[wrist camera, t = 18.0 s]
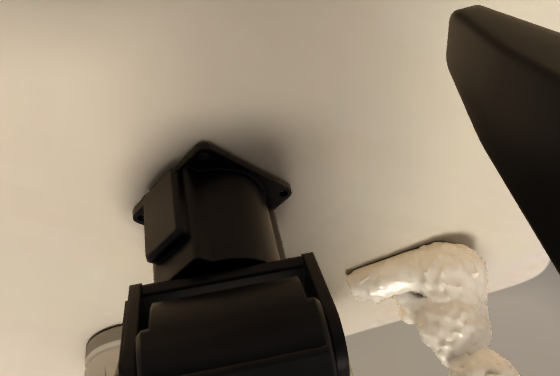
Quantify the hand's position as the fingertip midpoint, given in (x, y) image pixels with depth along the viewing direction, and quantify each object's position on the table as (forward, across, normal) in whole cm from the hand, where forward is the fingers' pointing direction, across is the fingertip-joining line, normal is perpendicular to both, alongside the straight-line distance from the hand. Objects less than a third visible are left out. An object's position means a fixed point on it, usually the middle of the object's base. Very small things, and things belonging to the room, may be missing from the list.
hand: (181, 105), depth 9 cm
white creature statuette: (+13, -10, +30) cm, 34 cm away
